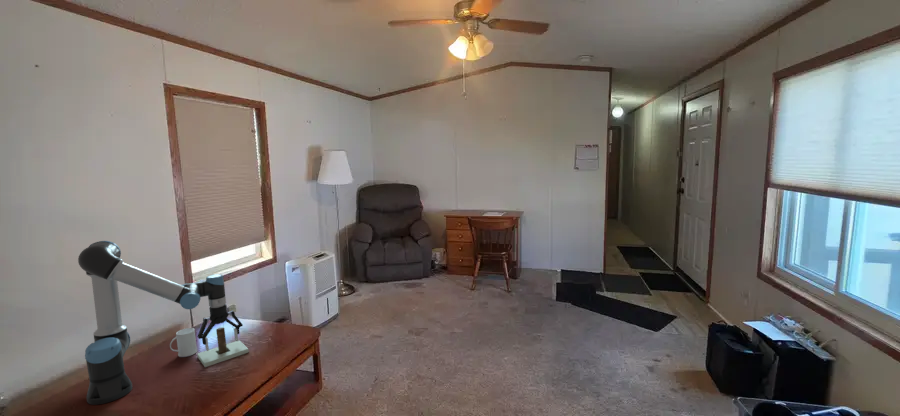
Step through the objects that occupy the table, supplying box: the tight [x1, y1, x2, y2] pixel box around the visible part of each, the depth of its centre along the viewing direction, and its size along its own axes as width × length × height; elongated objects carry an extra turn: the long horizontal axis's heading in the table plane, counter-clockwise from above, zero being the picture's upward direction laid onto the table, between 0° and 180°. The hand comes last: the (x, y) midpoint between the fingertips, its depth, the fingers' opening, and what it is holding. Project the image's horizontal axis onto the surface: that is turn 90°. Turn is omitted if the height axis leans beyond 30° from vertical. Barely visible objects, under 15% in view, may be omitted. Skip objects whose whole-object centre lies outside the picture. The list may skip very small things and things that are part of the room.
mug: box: [169, 327, 198, 358], centre depth 209 cm, size 12×8×12 cm
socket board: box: [196, 339, 250, 368], centre depth 208 cm, size 20×14×2 cm
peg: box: [215, 327, 228, 355], centre depth 207 cm, size 4×4×14 cm
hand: (222, 345), depth 207 cm, fingers open, 13 cm apart
